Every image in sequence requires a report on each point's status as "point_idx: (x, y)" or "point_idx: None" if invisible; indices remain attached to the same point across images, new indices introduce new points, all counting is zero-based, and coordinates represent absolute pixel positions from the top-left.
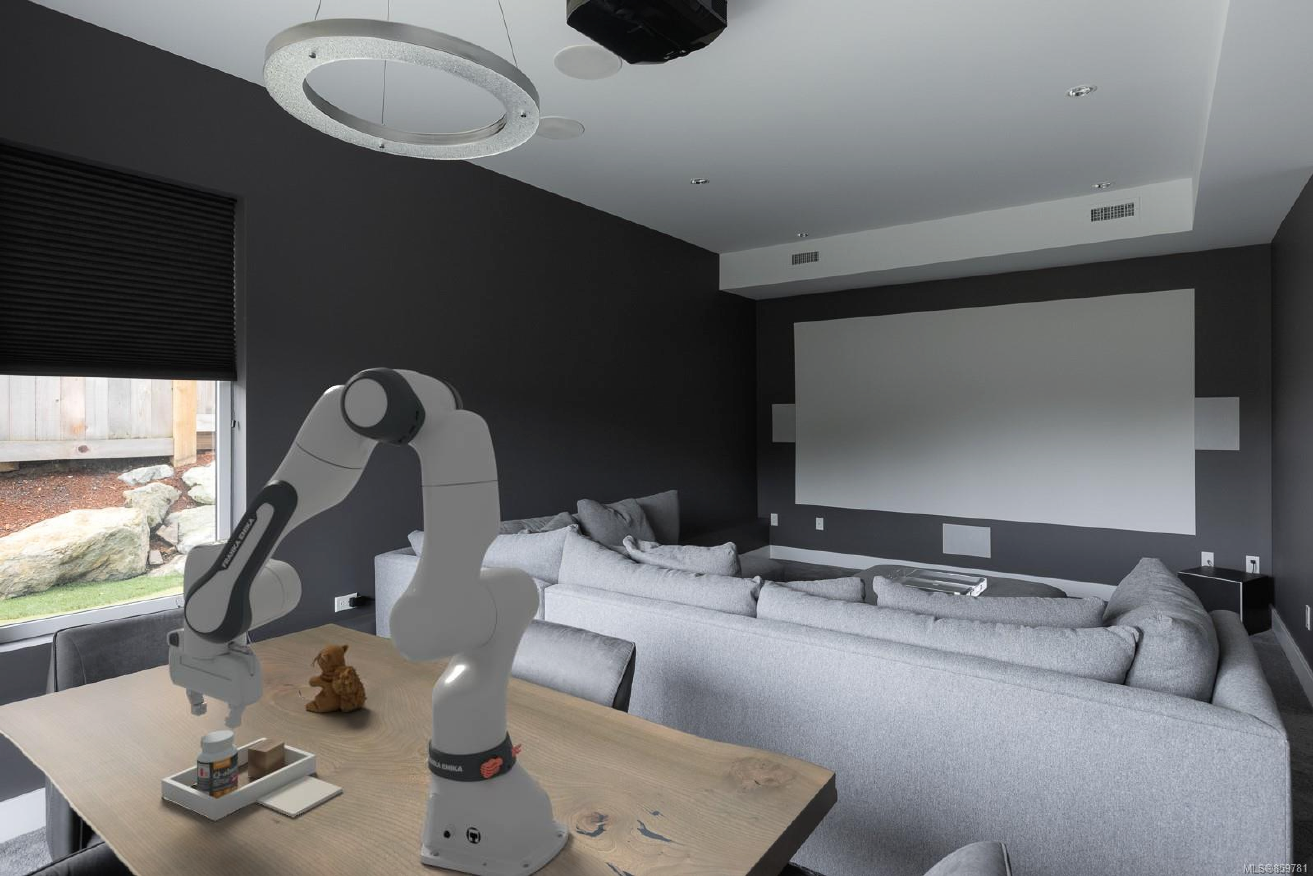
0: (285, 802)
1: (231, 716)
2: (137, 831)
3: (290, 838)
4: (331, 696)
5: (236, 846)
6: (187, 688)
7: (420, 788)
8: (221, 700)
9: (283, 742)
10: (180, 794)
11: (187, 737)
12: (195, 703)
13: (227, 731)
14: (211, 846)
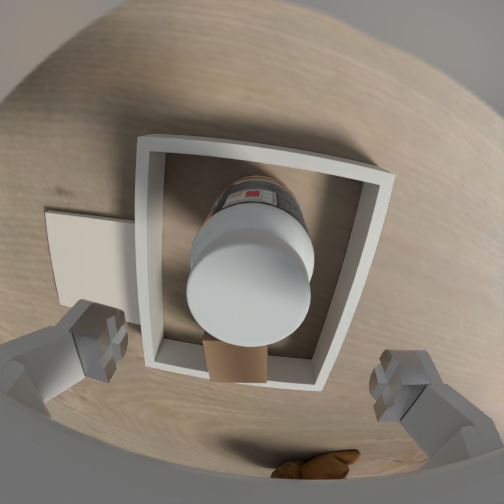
0: (85, 237)
1: (35, 332)
2: (290, 41)
3: (14, 166)
4: (313, 477)
5: (54, 104)
6: (487, 458)
7: (13, 328)
8: (9, 400)
9: (210, 379)
10: (302, 152)
11: (483, 348)
12: (424, 398)
13: (250, 341)
14: (89, 79)
